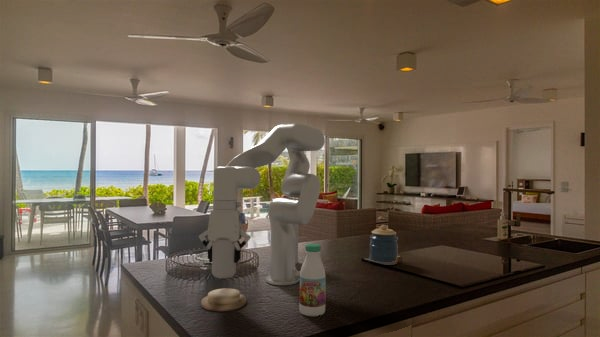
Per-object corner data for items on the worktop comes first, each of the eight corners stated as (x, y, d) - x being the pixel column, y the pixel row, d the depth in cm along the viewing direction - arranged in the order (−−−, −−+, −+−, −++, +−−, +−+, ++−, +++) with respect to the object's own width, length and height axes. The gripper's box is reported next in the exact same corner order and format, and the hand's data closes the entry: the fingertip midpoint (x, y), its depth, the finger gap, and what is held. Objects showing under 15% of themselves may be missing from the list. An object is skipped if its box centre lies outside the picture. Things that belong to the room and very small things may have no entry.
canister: (401, 267, 164) (401, 227, 164) (371, 266, 164) (372, 226, 164) (394, 259, 177) (394, 223, 177) (367, 259, 177) (367, 222, 177)
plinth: (250, 296, 123) (250, 287, 123) (241, 312, 109) (241, 301, 109) (208, 294, 124) (208, 285, 124) (194, 310, 110) (194, 300, 110)
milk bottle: (298, 307, 114) (299, 242, 114) (323, 307, 114) (324, 242, 114) (300, 317, 106) (301, 247, 106) (327, 316, 107) (328, 247, 107)
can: (230, 279, 112) (231, 240, 112) (207, 277, 114) (208, 238, 114) (239, 273, 119) (240, 236, 120) (217, 271, 121) (218, 234, 121)
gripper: (254, 205, 120) (253, 259, 120) (202, 204, 121) (200, 258, 121) (250, 207, 113) (249, 265, 112) (194, 206, 114) (192, 263, 113)
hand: (224, 261), depth 117 cm, fingers closed on can, 7 cm apart
